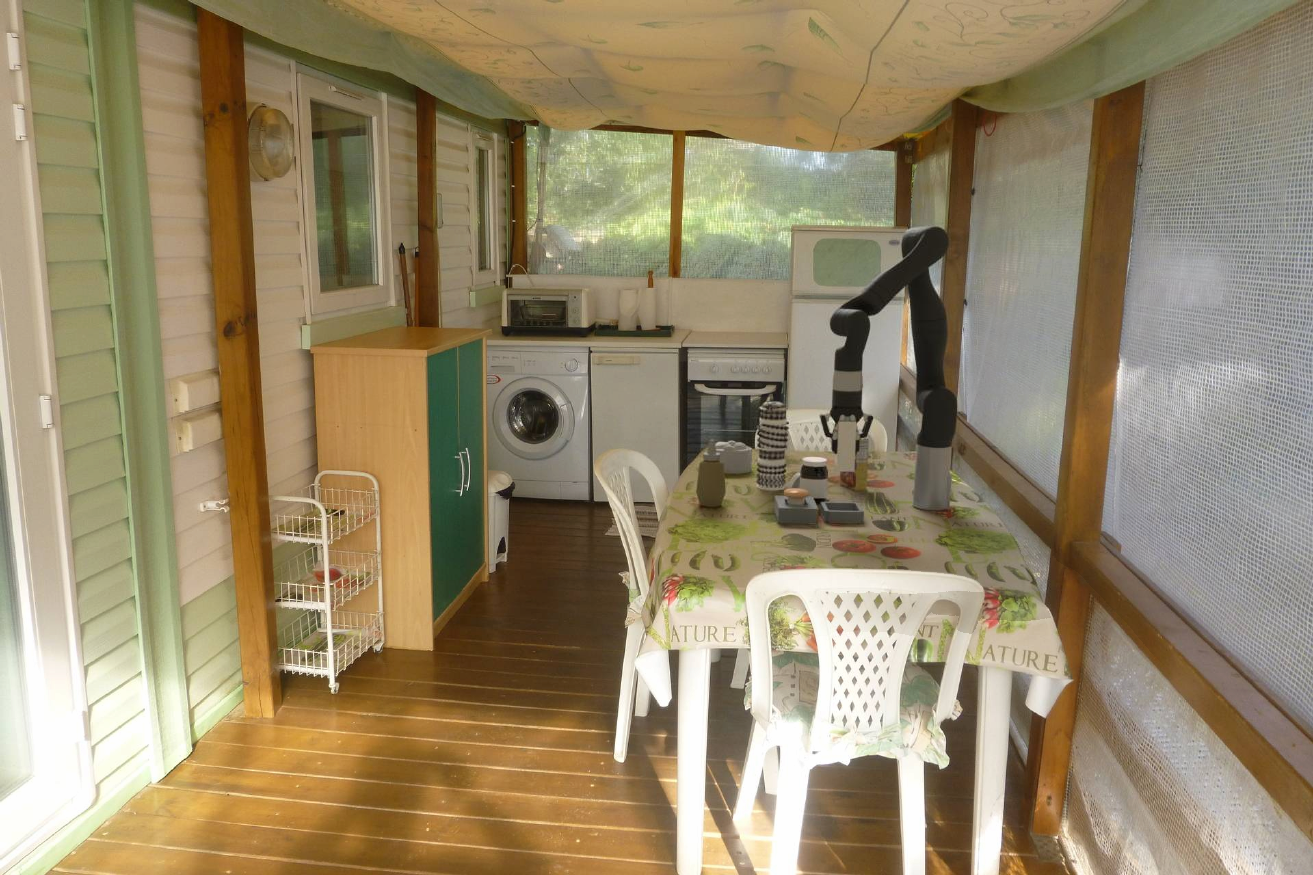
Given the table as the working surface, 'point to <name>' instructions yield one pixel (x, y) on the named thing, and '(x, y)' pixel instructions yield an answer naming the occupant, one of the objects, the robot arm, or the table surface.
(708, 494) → the squeeze bottle
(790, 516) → the socket blocks
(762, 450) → the decorative candle
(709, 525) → the table surface
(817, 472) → the spread jar
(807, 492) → the tan mushroom peg
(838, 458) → the square rod with knob
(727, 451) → the lumpy-topped squat cylinder
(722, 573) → the table surface
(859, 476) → the candy box
